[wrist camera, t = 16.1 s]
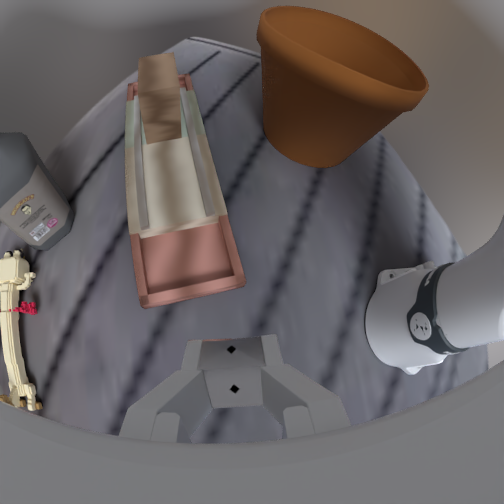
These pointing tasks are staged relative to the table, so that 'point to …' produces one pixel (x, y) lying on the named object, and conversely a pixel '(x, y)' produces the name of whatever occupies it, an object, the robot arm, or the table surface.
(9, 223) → the liquor
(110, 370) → the table surface
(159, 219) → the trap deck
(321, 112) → the flowerpot
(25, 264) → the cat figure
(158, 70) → the walnut block
